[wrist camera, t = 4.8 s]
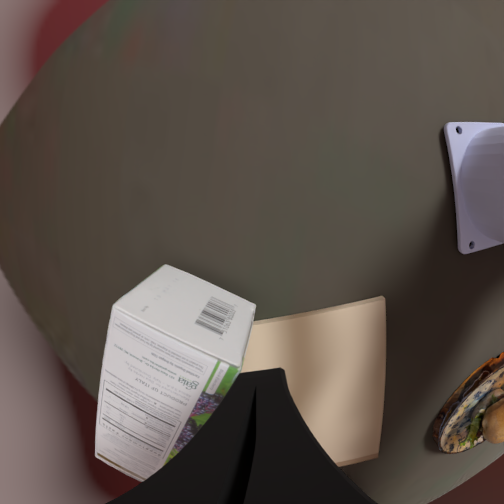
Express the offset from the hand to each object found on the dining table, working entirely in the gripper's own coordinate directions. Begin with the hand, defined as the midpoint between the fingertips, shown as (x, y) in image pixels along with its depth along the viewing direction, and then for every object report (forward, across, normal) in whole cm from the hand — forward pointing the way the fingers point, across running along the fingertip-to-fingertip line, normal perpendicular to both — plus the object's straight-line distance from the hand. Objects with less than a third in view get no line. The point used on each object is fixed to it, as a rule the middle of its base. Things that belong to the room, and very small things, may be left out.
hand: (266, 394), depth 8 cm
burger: (+9, -18, +16) cm, 26 cm away
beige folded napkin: (+8, 0, +10) cm, 13 cm away
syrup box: (+5, +3, -2) cm, 6 cm away
